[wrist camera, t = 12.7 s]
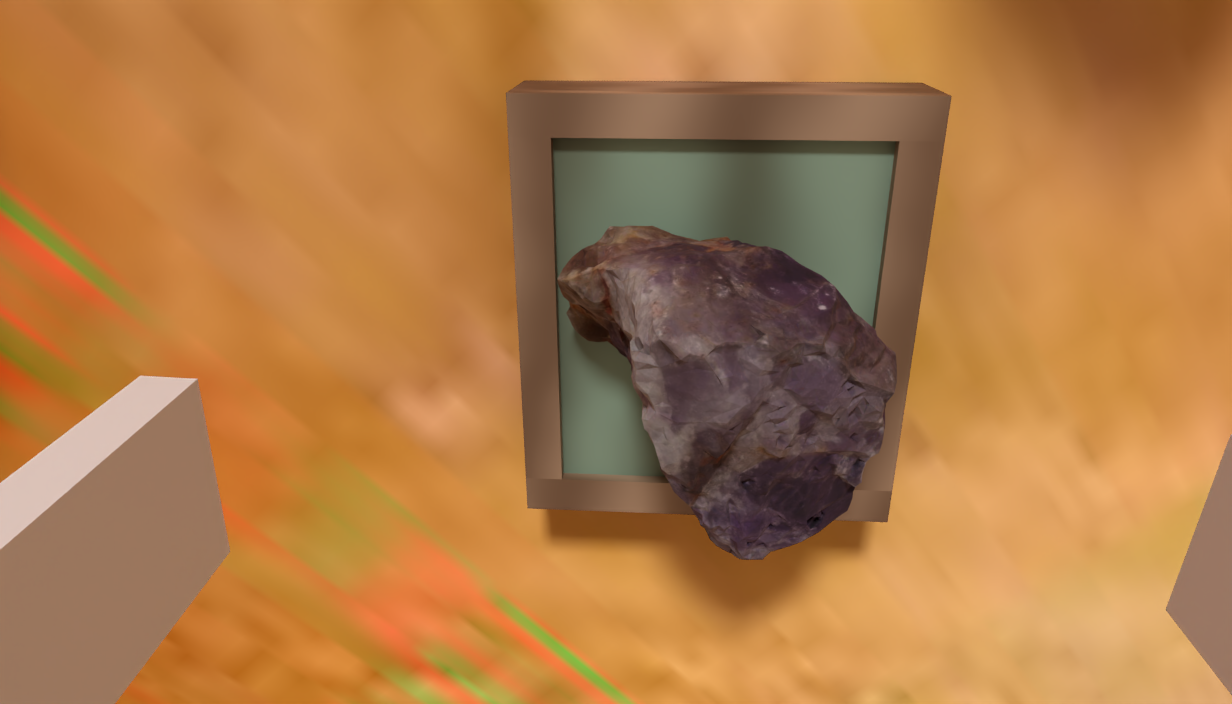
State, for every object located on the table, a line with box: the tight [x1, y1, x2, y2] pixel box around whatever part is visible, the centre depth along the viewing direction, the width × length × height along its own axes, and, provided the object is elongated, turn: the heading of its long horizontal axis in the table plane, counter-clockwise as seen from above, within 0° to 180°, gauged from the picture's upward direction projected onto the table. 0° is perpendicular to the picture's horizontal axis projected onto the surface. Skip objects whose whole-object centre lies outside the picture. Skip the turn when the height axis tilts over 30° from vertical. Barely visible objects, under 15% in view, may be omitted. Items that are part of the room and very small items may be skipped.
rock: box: [557, 226, 897, 560], centre depth 29 cm, size 12×9×10 cm
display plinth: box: [506, 81, 951, 522], centre depth 34 cm, size 15×17×4 cm
